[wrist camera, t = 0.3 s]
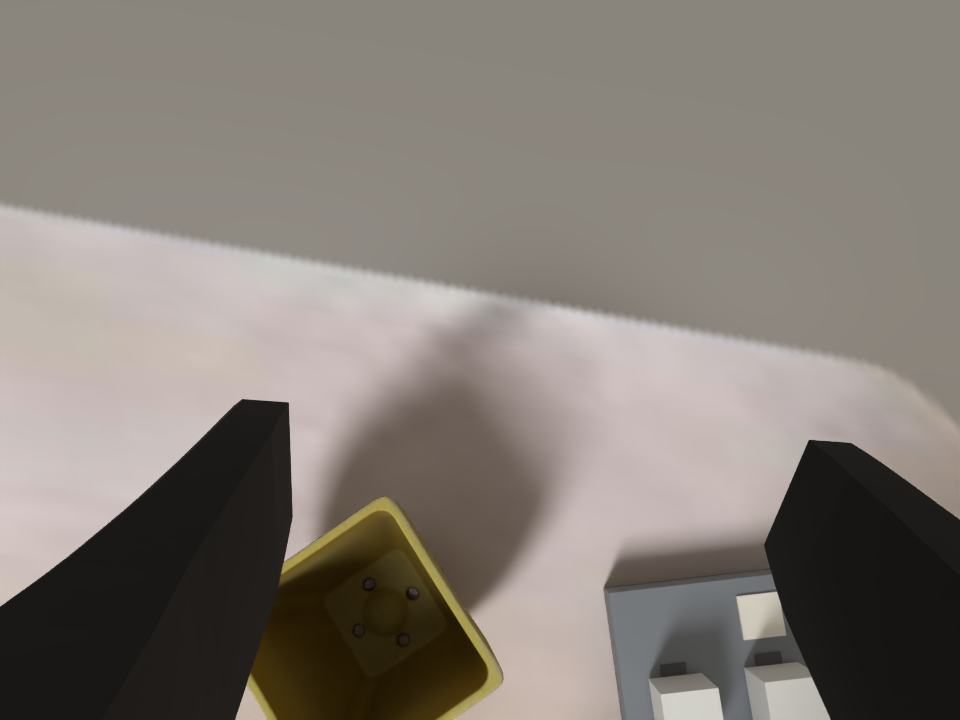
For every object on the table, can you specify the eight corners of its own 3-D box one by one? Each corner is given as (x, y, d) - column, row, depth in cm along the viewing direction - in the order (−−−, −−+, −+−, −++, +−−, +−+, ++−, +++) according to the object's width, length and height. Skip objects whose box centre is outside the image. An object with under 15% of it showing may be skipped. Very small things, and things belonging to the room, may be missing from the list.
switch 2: (809, 730, 34) (836, 750, 32) (755, 736, 34) (777, 757, 32) (797, 661, 35) (822, 676, 32) (744, 667, 35) (764, 682, 32)
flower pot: (508, 638, 38) (509, 682, 29) (362, 740, 37) (317, 817, 28) (414, 491, 39) (387, 490, 30) (272, 587, 38) (202, 614, 30)
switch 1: (712, 741, 34) (730, 762, 32) (658, 747, 34) (672, 769, 32) (701, 672, 35) (718, 688, 32) (648, 678, 35) (660, 694, 32)
